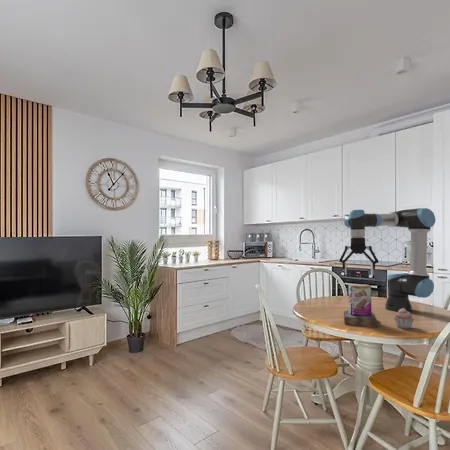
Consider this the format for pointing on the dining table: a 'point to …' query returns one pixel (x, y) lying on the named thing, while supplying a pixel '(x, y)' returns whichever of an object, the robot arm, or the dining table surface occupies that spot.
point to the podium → (360, 320)
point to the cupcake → (403, 319)
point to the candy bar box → (359, 299)
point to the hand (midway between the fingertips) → (358, 275)
